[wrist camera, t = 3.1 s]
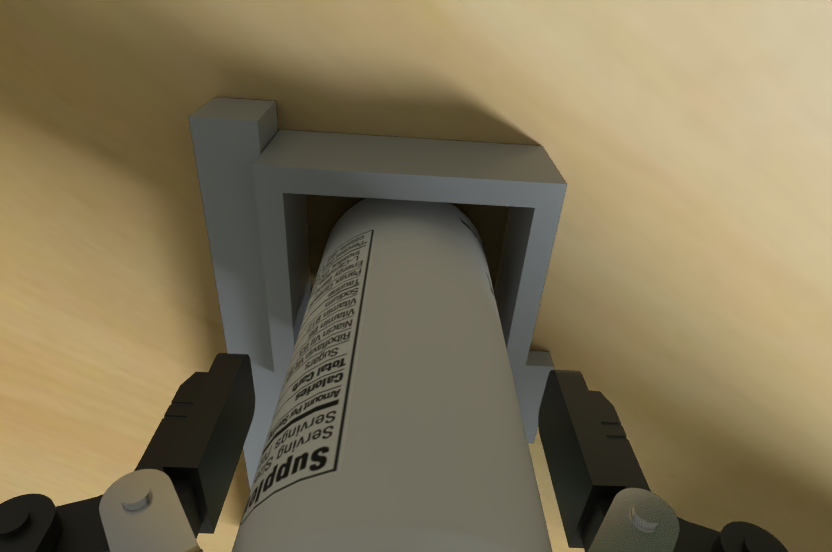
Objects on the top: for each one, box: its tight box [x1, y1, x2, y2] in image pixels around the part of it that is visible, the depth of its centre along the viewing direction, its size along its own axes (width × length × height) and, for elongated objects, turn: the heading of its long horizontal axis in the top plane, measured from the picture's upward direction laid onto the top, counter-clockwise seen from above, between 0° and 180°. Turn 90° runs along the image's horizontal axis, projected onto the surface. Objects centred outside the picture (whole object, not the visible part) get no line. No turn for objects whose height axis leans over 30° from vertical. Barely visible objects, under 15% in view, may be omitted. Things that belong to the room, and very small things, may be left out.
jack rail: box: [189, 97, 567, 491], centre depth 23 cm, size 13×25×4 cm, turn 176°
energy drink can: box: [232, 198, 552, 552], centre depth 14 cm, size 6×6×15 cm
